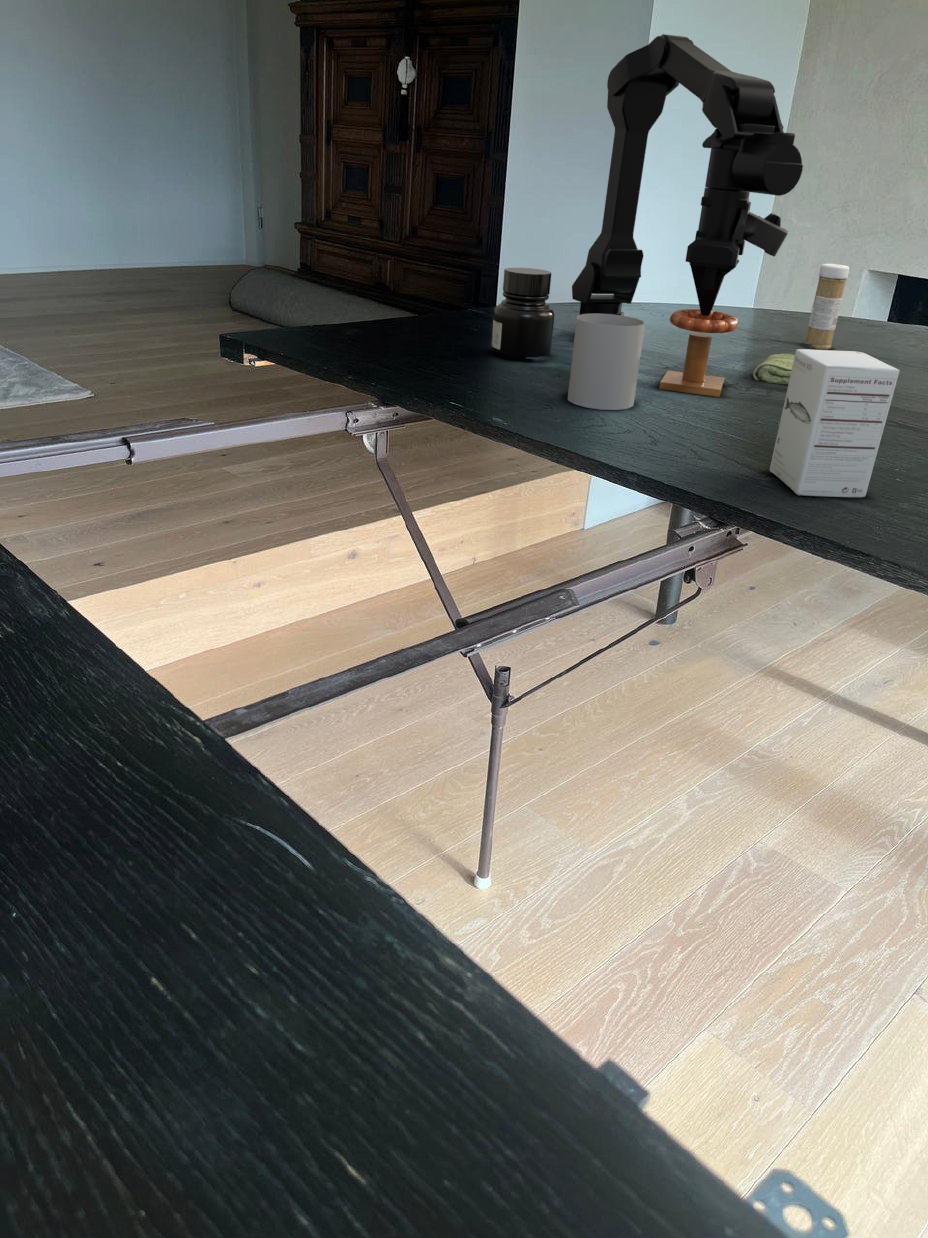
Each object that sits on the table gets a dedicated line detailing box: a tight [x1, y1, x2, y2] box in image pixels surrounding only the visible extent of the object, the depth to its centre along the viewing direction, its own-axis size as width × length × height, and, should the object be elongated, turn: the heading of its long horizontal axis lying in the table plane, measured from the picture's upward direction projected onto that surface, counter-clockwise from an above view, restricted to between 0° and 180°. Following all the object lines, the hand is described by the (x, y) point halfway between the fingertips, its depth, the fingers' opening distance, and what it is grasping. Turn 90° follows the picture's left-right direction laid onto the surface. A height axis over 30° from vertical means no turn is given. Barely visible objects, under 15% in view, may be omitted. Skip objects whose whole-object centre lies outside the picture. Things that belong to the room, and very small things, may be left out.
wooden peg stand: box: [658, 332, 726, 398], centre depth 130 cm, size 8×8×7 cm
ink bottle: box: [490, 267, 555, 362], centre depth 140 cm, size 10×9×12 cm
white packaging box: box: [769, 348, 900, 498], centre depth 93 cm, size 7×7×13 cm
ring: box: [669, 308, 739, 334], centre depth 127 cm, size 9×9×2 cm
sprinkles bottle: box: [803, 263, 850, 350], centre depth 161 cm, size 5×5×14 cm
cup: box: [567, 313, 646, 411], centre depth 119 cm, size 8×8×10 cm
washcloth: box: [752, 352, 795, 386], centre depth 136 cm, size 13×18×3 cm
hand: (705, 314), depth 130 cm, fingers closed on ring, 1 cm apart
